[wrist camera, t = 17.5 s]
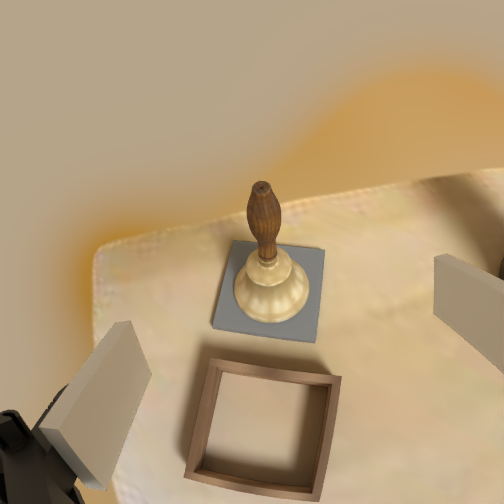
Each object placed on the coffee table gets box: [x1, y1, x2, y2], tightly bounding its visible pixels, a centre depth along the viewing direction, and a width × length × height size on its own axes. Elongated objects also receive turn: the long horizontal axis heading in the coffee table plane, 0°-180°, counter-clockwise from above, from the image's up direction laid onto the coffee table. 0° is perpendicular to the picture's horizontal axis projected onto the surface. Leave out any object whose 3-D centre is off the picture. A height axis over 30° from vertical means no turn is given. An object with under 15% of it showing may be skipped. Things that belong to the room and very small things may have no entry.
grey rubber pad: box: [212, 240, 325, 343], centre depth 35 cm, size 11×11×1 cm
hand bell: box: [234, 181, 309, 323], centre depth 28 cm, size 8×8×16 cm
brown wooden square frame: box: [184, 357, 342, 502], centre depth 26 cm, size 13×13×3 cm
